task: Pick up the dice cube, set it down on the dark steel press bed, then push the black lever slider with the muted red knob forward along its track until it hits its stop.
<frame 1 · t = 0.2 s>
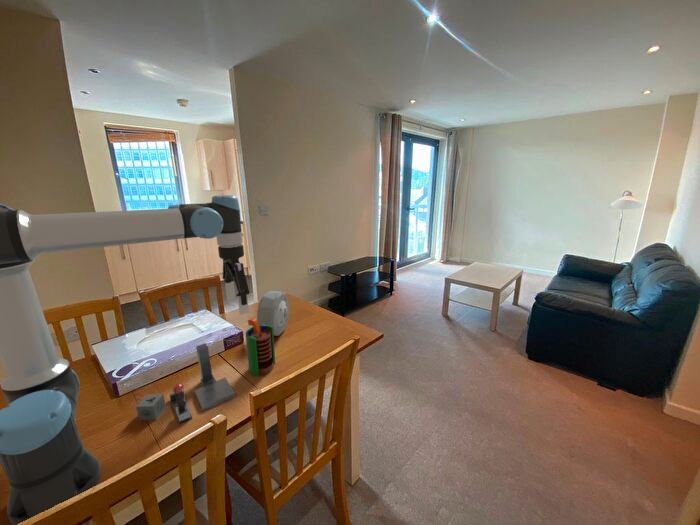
hand: (237, 306, 100), 28 cm above the table, fingers open, 13 cm apart
motor: (261, 368, 112), on the table
lever: (180, 400, 87), point 6 cm above the table, slide at 0.0 cm
press frame: (215, 395, 98), on the table
dice cube: (153, 414, 90), on the table
dial: (276, 332, 138), on the table
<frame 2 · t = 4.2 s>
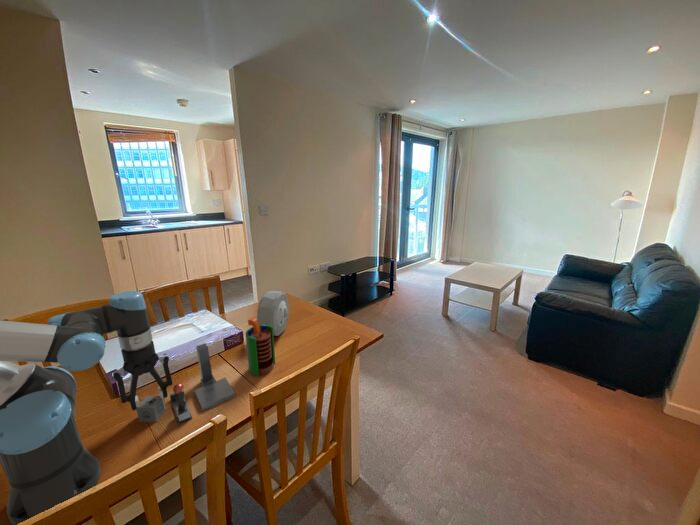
hand: (152, 411, 90), 1 cm above the table, fingers closed on dice cube, 5 cm apart
dice cube: (153, 416, 90), on the table, touching gripper
everything else where it was.
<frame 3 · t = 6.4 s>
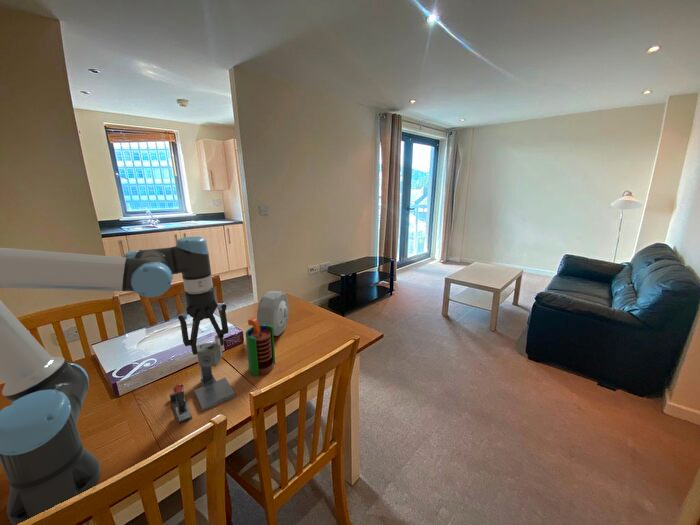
hand: (209, 358, 93), 15 cm above the table, fingers closed on dice cube, 5 cm apart
dice cube: (211, 362, 93), point 14 cm above the table, touching gripper
everything else where it was.
when the fingers open (4 cm above the table, at t = 8.6 s): dice cube drops 1 cm, resting on press frame.
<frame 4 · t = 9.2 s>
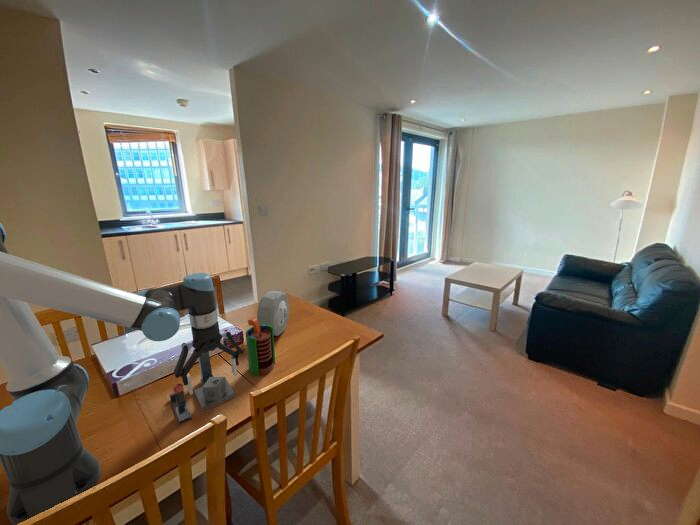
hand: (213, 382, 96), 5 cm above the table, fingers open, 13 cm apart
dice cube: (215, 395, 96), point 1 cm above the table, touching press frame
everything else where it was.
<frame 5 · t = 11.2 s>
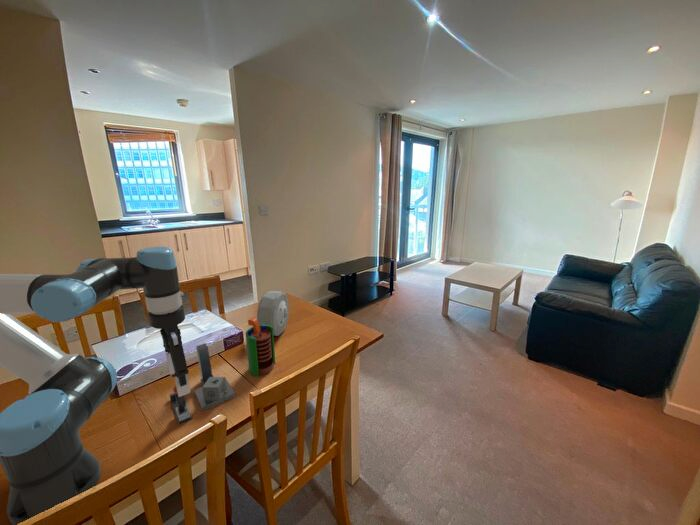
hand: (179, 382, 80), 16 cm above the table, fingers open, 11 cm apart
nothing on the table moved.
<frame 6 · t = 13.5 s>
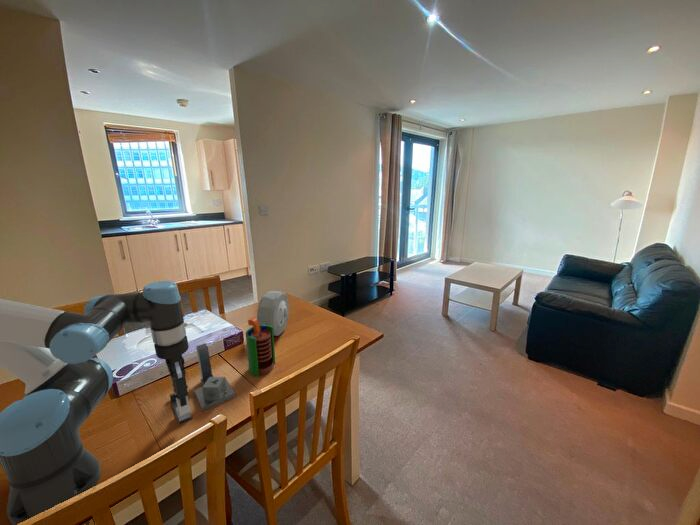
hand: (184, 412, 84), 5 cm above the table, fingers closed
lever: (180, 400, 87), point 6 cm above the table, slide at 0.0 cm, touching gripper
everything else where it was.
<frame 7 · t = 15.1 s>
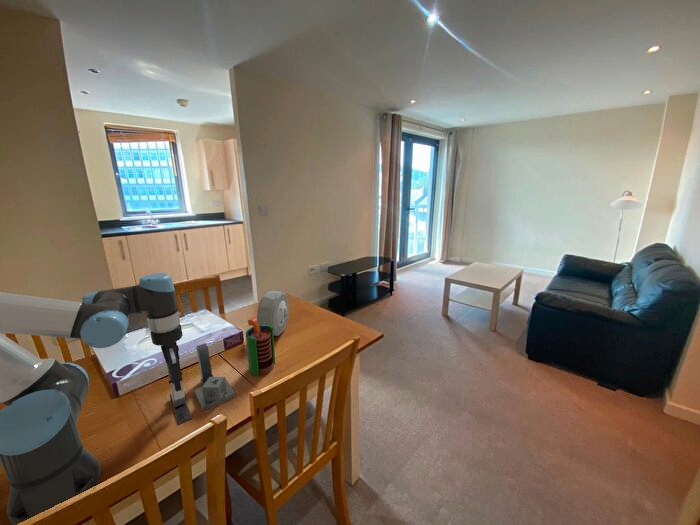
hand: (179, 397, 90), 5 cm above the table, fingers closed
lever: (175, 387, 92), point 6 cm above the table, slide at 7.3 cm, touching gripper
everything else where it was.
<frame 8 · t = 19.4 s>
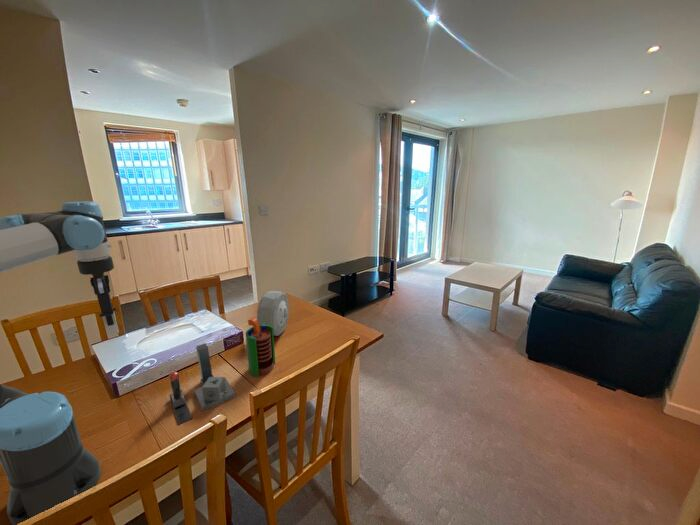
hand: (113, 333, 89), 24 cm above the table, fingers closed
lever: (176, 387, 92), point 6 cm above the table, slide at 7.0 cm
everything else where it was.
at the end: dice cube inside the target area on the press frame (2.0 cm from its centre), point 1.3 cm above the press frame's base; lever slide at 7.0 cm; the gripper is holding nothing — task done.
